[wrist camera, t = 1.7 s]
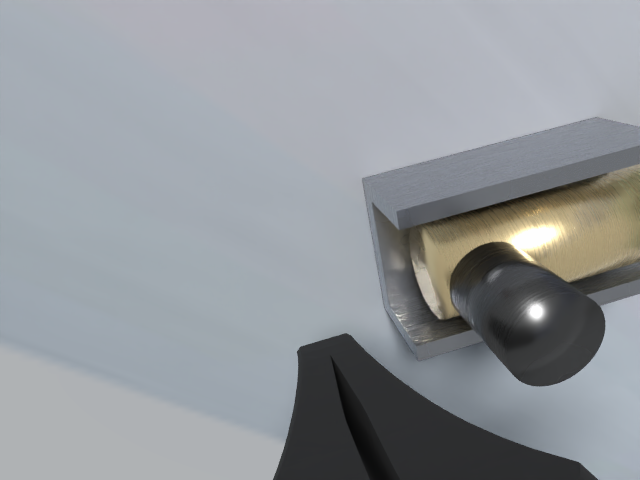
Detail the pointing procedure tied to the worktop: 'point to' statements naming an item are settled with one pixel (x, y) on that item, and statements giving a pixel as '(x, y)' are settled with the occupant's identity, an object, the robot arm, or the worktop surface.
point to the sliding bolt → (532, 270)
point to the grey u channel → (479, 191)
